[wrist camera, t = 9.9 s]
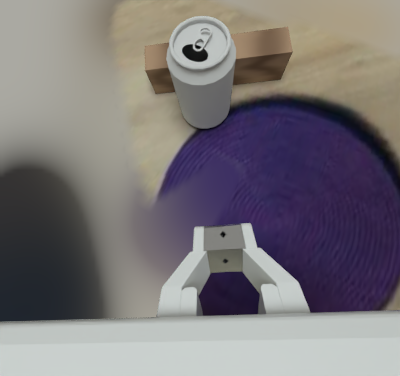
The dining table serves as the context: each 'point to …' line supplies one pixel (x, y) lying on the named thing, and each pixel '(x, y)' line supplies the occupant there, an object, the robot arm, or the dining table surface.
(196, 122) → the can
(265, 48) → the wooden block
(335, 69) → the dining table surface
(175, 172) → the dining table surface
